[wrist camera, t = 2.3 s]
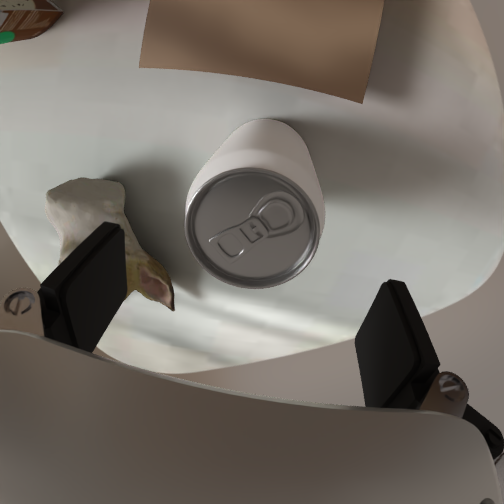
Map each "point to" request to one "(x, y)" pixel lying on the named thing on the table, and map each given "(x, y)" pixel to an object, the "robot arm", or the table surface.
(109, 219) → the ceramic sculpture
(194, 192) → the can
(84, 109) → the table surface
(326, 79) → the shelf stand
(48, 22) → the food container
